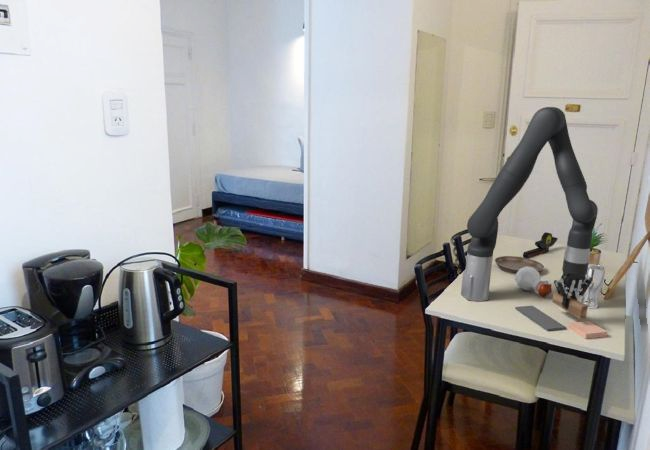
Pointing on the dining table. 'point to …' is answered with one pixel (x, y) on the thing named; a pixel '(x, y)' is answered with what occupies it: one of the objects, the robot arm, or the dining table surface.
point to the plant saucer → (517, 264)
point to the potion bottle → (532, 281)
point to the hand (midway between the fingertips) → (568, 307)
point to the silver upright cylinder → (593, 285)
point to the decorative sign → (541, 246)
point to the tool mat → (540, 318)
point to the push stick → (571, 306)
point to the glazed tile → (587, 330)
